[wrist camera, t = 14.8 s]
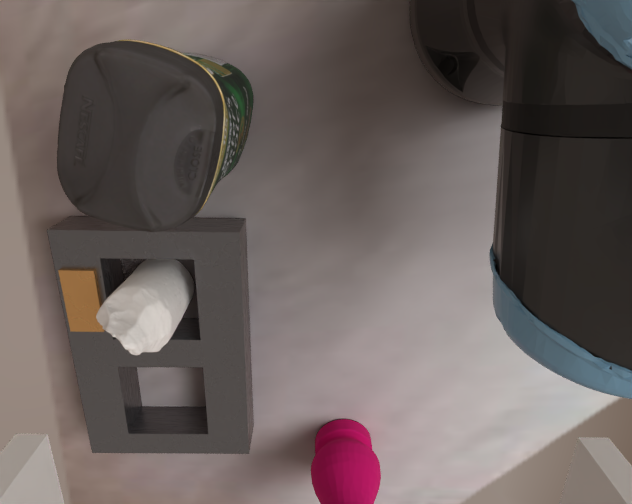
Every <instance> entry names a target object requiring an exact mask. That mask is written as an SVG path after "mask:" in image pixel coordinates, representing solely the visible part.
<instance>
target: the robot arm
mask: <svg viewBox="0 0 632 504" xmlns="http://www.w3.org/2000/svg"><path fill="white" fill-rule="evenodd" d="M410 25H411V31H412V36H413V40H414V43H415V47H416V49H417V52H418V54H419V56H420V58H421V60H422V62H423V64H424V66H425V67H426V69H427V70H428V72H429V73H430V74H431V75H432V77H433V78H434V79H435V80H436V81H437V82H438V83H439V84H440V85H441V86H443V87H444V88H445V89H447V90H448V91H450V92H451V93H453V94H455V95H457V96H458V97H461V98H463V99H466V100H469V101H472V102H477V103H482V104H489V105H503V108H502V124H501V134H500V150H499V164H498V179H497V193H496V208H495V222H494V237H493V244H492V247H491V249H490V265H491V269H492V272H493V305H494V309H495V313H496V316H497V318H498V319H499V320H500V322H501V323H502V325H503V327H504V330H505V331H506V333H507V335H508V336H509V337H510V339H511V340H512V341H513V342H514V343H515V344H516V345H517V346H518V347H519V348H520V349H521V350H522V351H524V352H525V353H526V354H527V355H528V356H530V357H531V358H532V359H534V360H535V361H536V362H538V363H539V364H541V365H542V366H544V367H546V368H547V369H549V370H551V371H553V372H555V373H556V374H558V375H560V376H562V377H564V378H566V379H568V380H570V381H573V382H575V383H577V384H580V385H582V386H585V387H587V388H590V389H593V390H596V391H599V392H602V393H606V394H610V395H614V396H618V397H623V398H629V399H632V0H410ZM0 504H64V500H63V495H62V491H61V487H60V484H59V479H58V475H57V471H56V467H55V463H54V459H53V455H52V450H51V446H50V442H49V438H48V434H15V435H14V437H13V438H12V439H11V440H10V442H9V443H8V444H7V445H6V446H5V448H4V449H3V450H2V451H1V452H0ZM559 504H632V466H631V465H630V463H629V462H628V461H627V460H626V458H625V457H624V456H623V455H622V454H621V452H620V451H619V450H618V449H617V447H616V446H615V445H614V444H613V443H612V441H611V440H610V439H609V438H578V440H577V443H576V447H575V450H574V454H573V457H572V461H571V464H570V468H569V471H568V475H567V478H566V482H565V485H564V488H563V492H562V496H561V499H560V502H559Z"/></svg>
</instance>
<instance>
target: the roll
mask: <svg viewBox="0 0 632 504" xmlns="http://www.w3.org/2000/svg"><path fill="white" fill-rule="evenodd" d="M194 291H195V286H194V281H193V279H192V277H191V274H190V273H189V271H188V270H187V269H186V268H185V267H184V266H183V265H182V264H181V263H180V262H179V261H177V260H175V259H146V260H145V261H143V262H142V263H141V264H140V265H139V266H138V267H137V268H136V269H135V270H134V271H133V273H132V274H131V275H130V276H129V277H128V278H127V279H126V280H125V281H124V282H123V283H122V284H121V285H120V286H119V287H118V288H117V289H116V290H115V291H114V292H113V293H112V294H111V295H110V296H109V297H108V298H107V299H106V300H105V302H104V303H103V304H102V306H101V307H100V309H99V310H98V313H97V315H96V319H97V321H98V322H99V323H100V325H102V326H103V329H104V330H105V331H107V332H108V333H110V334H111V335H112V337H116V338H117V339H118V340H119V341H120V343H121V344H122V346H123V347H124V349H126V350H128V351H129V352H130V353H131V354H132V355H140V354H141V353H142V352H158V351H160V350H161V348H162V347H163V346H164V345H166V344H167V343H168V341H169V340H170V338H171V337H172V335H173V333H174V332H175V330H176V328H177V326H178V324H179V322H180V321H181V319H182V317H183V315H184V313H185V311H186V309H187V307H188V305H189V303H190V301H191V299H192V297H193V295H194Z"/></svg>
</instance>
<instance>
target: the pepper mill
mask: <svg viewBox="0 0 632 504" xmlns="http://www.w3.org/2000/svg"><path fill="white" fill-rule="evenodd" d="M315 454H316V455H315V457H314V459H313V462H312V465H311V476H312V484H313V487H314V490H315V493H316V495H317V497H318V499H319V501H320V503H321V504H374V501H375V498H376V495H377V493H378V490H379V486H380V479H381V474H380V464H379V461H378V458H377V456H376V454H375V453H374V452H373V451H372V444H371V438H370V434H369V432H368V431H367V429H366V428H365V427H364V426H363V425H361V424H360V423H358V422H356V421H353V420H348V419H340V420H335V421H332V422H329V423H327V424H326V425H324V426H323V427H322V428H321V429H320V430H319V432H318V433H317V435H316V439H315Z"/></svg>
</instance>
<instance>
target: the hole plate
mask: <svg viewBox="0 0 632 504" xmlns="http://www.w3.org/2000/svg"><path fill="white" fill-rule="evenodd" d="M47 233H48V238H49V243H50V248H51V253H52V257H53V262H54V267H55V272H56V277H57V282H58V287H59V292H60V297H61V302H62V307H63V312H64V316H65V321H66V326H67V331H68V336H69V341H70V346H71V351H72V356H73V361H74V366H75V370H76V375H77V380H78V385H79V390H80V395H81V400H82V405H83V410H84V415H85V420H86V425H87V429H88V434H89V439H90V444H91V449H92V453H224V454H249V451H250V445H251V439H252V433H253V426H254V423H253V397H252V370H251V344H250V317H249V291H248V264H247V238H246V219H240V218H191V219H189V220H188V221H186V222H185V223H183V224H182V225H180V226H178V227H176V228H173V229H170V230H166V231H160V232H146V231H140V230H134V229H130V228H125V227H122V226H118V225H114V224H111V223H108V222H105V221H102V220H99V219H96V218H94V217H91V216H69V217H68V218H66V219H64V220H63V221H61V222H59V223H58V224H56V225H54V226H52V227H51V228H49V229H47ZM121 259H190V260H194V266H195V278H196V290H197V302H198V314H199V318H182V319H181V321H180V322H179V324H178V326H177V328H176V330H175V332H174V333H173V335H172V337H171V338H170V340H169V341H168V343H167V344H166V345H164V346H163V347H162V348H161V350H160V351H158V352H142V353H141V354H140V355H132V354H131V353H130V352H129V351H128V350H126V349H124V347H123V346H122V344H121V343H120V341H119V340H118V339H117V338H116V337H112V335H111V334H110V333H108V332H107V331H105V330H104V329H103V326H102V325H100V323H99V322H98V321H97V319H96V315H97V313H98V310H99V309H100V307H101V306H102V304H103V303H104V302H105V300H106V299H107V298H108V297H109V296H110V295H111V294H112V293H113V292H114V291H115V290H116V289H117V288H118V287H119V286H120V285H121V284H122V283H123V282H124V279H123V272H122V265H121ZM136 367H203V375H204V387H205V399H206V407H142V402H141V396H140V389H139V382H138V375H137V368H136Z"/></svg>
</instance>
